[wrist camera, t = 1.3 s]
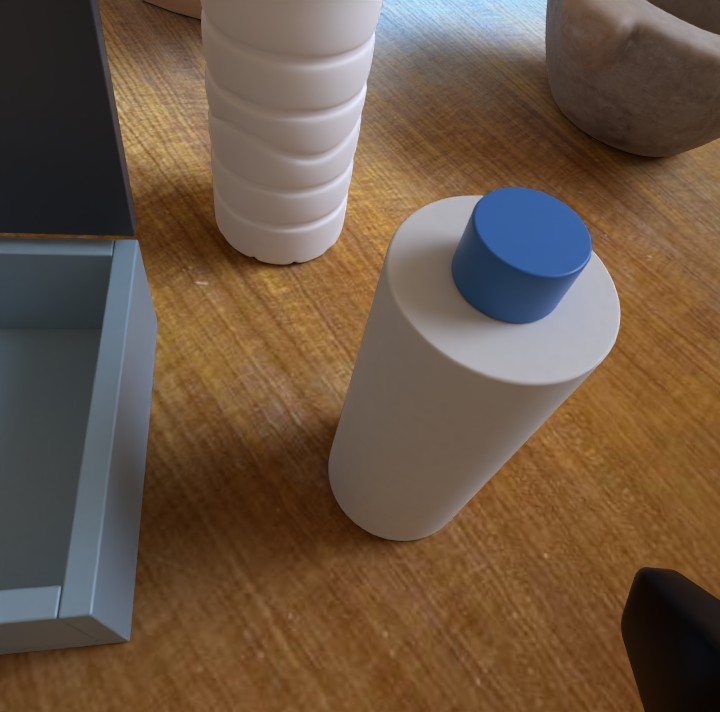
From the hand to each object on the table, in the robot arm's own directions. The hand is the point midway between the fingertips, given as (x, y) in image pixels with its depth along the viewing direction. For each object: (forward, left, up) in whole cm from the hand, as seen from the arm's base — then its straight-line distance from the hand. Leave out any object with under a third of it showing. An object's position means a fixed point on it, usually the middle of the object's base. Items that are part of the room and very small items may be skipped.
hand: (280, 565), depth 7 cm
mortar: (+31, -26, -14) cm, 43 cm away
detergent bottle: (+6, -6, -14) cm, 16 cm away
